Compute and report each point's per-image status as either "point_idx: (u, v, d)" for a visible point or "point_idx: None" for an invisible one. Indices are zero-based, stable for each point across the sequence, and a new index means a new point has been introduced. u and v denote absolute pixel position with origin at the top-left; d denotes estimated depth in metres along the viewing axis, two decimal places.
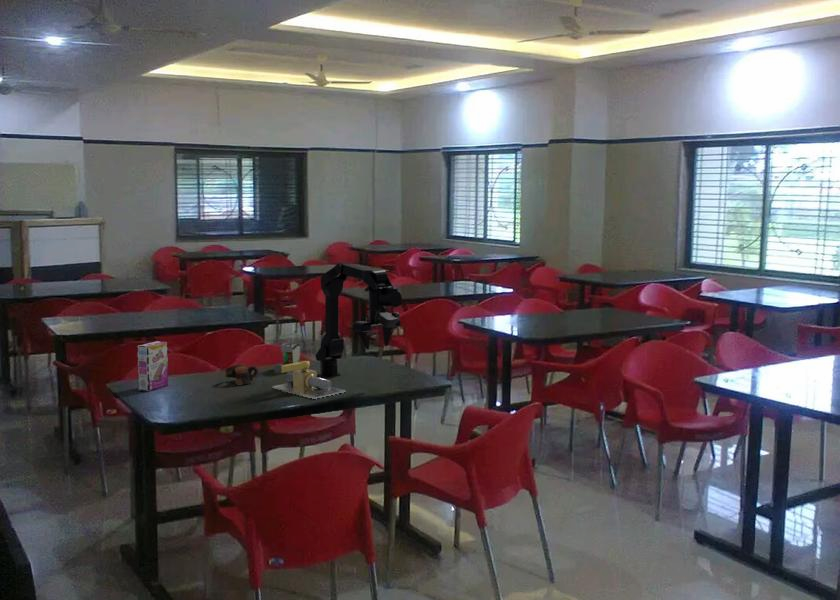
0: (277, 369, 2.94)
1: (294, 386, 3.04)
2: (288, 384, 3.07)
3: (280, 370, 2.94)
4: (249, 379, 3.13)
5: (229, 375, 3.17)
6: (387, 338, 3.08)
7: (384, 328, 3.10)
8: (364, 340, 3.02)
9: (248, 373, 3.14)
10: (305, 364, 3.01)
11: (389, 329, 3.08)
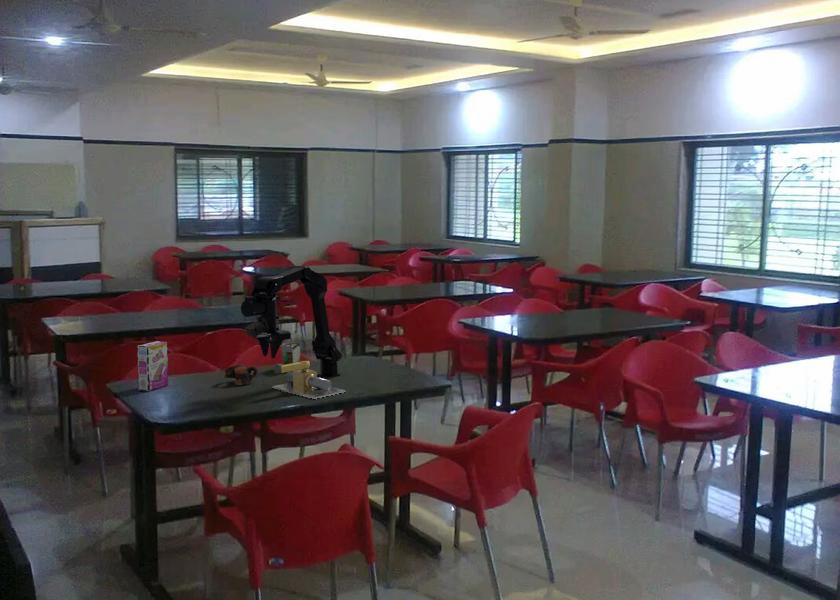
0: (277, 369, 2.94)
1: (294, 386, 3.04)
2: (288, 384, 3.07)
3: (280, 370, 2.94)
4: (249, 379, 3.13)
5: (228, 375, 3.16)
6: None
7: None
8: None
9: (248, 373, 3.13)
10: (305, 364, 3.01)
11: None
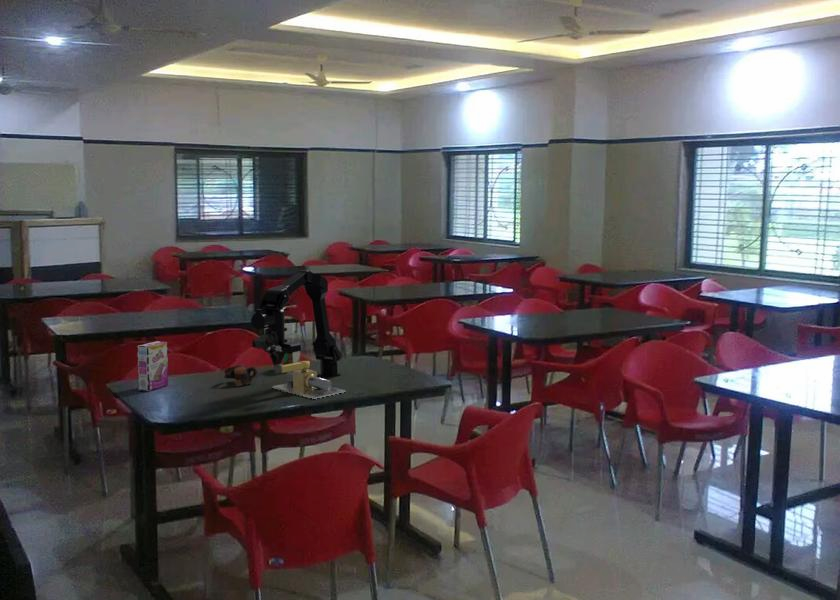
0: (277, 369, 2.94)
1: (294, 386, 3.04)
2: (288, 384, 3.07)
3: (280, 370, 2.94)
4: (248, 380, 3.12)
5: (228, 376, 3.16)
6: None
7: None
8: None
9: (247, 374, 3.13)
10: (305, 364, 3.01)
11: None
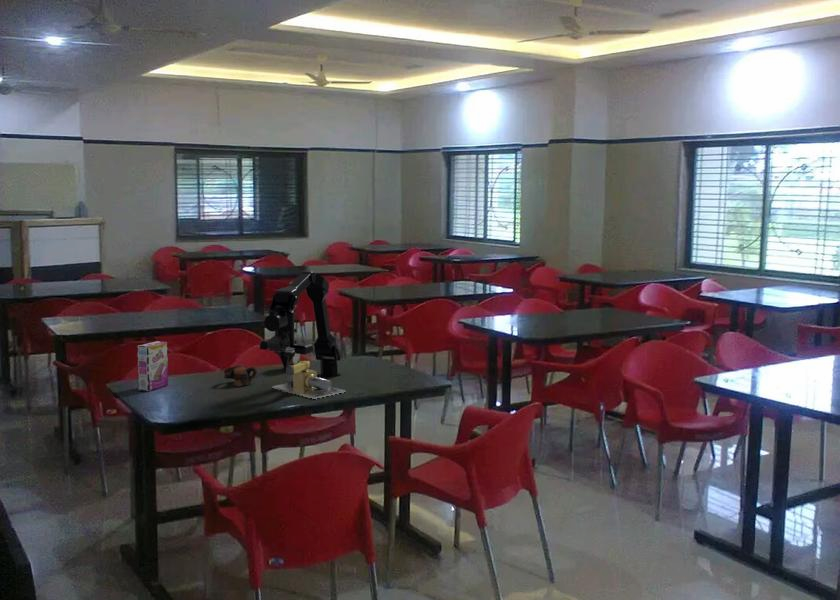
0: (291, 371, 2.91)
1: (294, 386, 3.04)
2: (288, 384, 3.07)
3: (293, 371, 2.92)
4: (248, 380, 3.12)
5: (227, 376, 3.15)
6: None
7: None
8: None
9: (247, 374, 3.12)
10: (307, 364, 3.02)
11: None
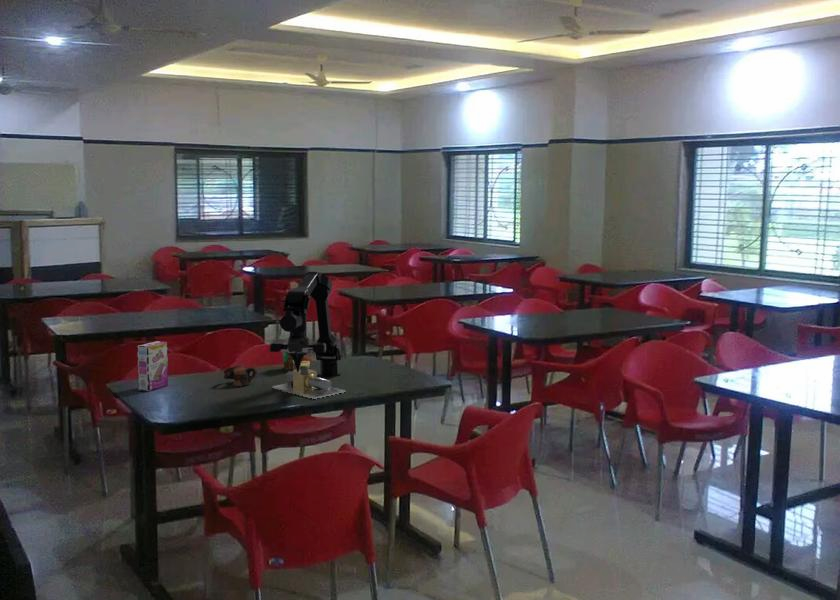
0: (306, 371, 2.91)
1: (294, 386, 3.04)
2: (288, 384, 3.07)
3: (307, 371, 2.92)
4: (248, 380, 3.11)
5: (227, 376, 3.15)
6: None
7: None
8: None
9: (247, 374, 3.12)
10: (309, 363, 3.02)
11: (298, 354, 2.91)
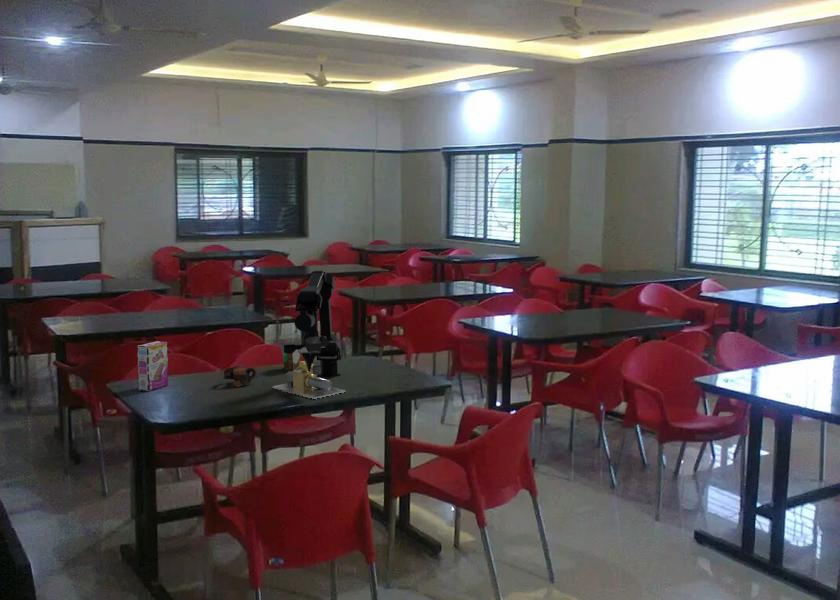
0: (319, 369, 2.93)
1: (294, 386, 3.04)
2: (288, 384, 3.07)
3: None
4: (247, 381, 3.11)
5: (227, 377, 3.14)
6: None
7: (308, 352, 2.94)
8: (305, 362, 2.93)
9: (246, 374, 3.11)
10: None
11: (310, 354, 2.92)
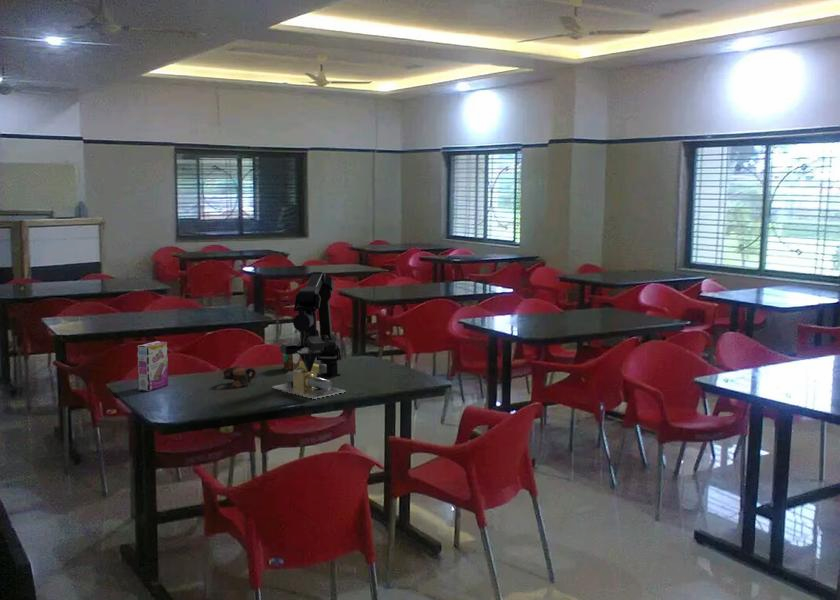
0: None
1: (294, 386, 3.04)
2: (288, 384, 3.07)
3: None
4: (247, 381, 3.11)
5: (226, 377, 3.14)
6: None
7: (308, 353, 2.93)
8: (305, 362, 2.91)
9: (246, 375, 3.11)
10: None
11: (311, 354, 2.90)
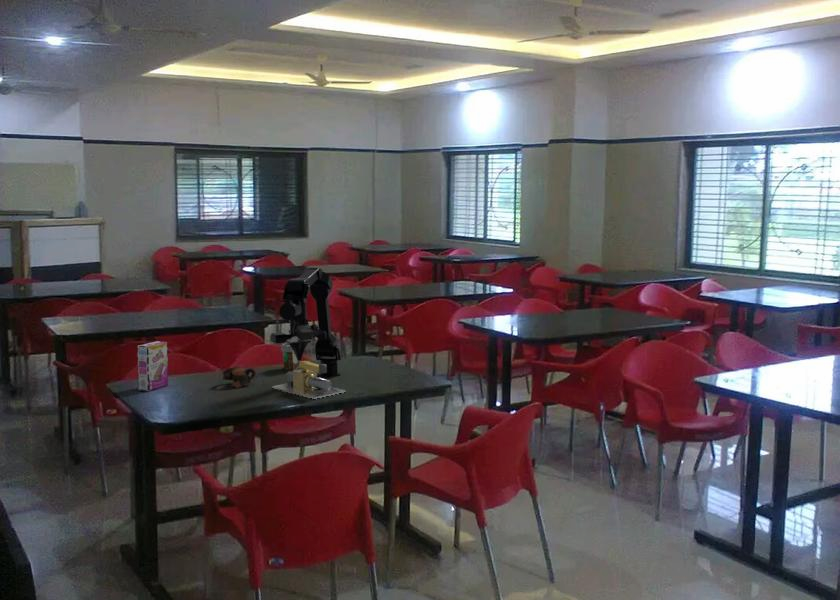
0: None
1: (294, 386, 3.04)
2: (288, 384, 3.07)
3: None
4: (247, 381, 3.10)
5: (226, 377, 3.13)
6: (300, 352, 2.93)
7: (298, 342, 2.94)
8: (294, 351, 2.93)
9: (246, 375, 3.10)
10: None
11: (301, 343, 2.92)
